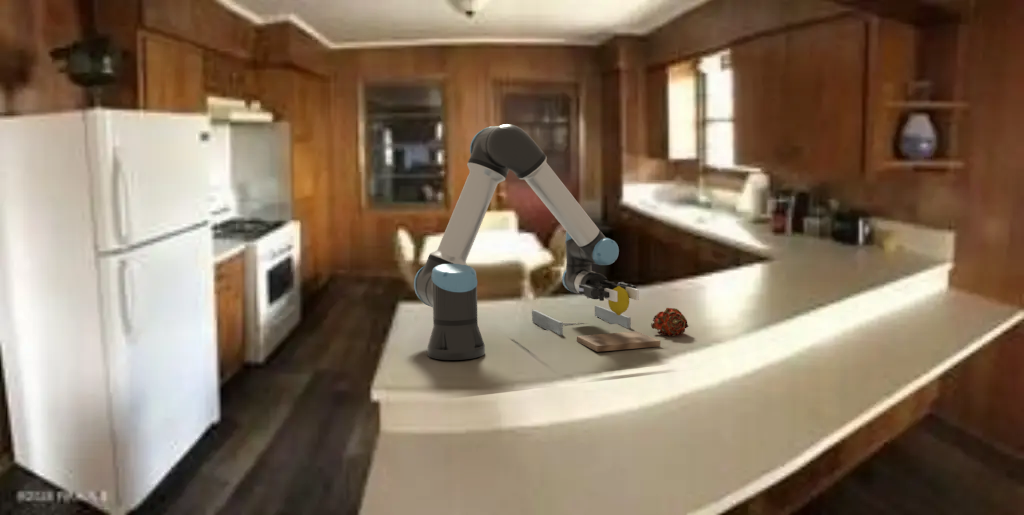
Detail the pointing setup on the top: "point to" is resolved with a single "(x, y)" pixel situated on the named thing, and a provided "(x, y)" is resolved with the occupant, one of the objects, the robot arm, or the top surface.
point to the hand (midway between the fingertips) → (626, 295)
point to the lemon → (620, 301)
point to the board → (618, 341)
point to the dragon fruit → (670, 322)
